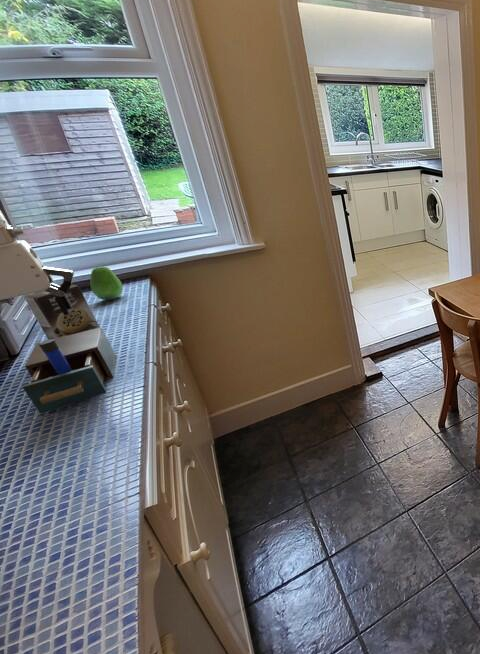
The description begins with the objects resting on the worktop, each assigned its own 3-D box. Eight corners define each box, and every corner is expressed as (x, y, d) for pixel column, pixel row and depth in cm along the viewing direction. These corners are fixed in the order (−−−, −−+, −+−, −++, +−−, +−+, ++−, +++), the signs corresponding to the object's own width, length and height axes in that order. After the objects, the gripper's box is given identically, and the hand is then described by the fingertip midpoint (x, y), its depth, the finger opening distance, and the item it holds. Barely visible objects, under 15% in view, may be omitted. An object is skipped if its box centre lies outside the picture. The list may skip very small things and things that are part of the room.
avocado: (128, 298, 145) (113, 266, 140) (99, 305, 140) (82, 272, 135) (125, 292, 151) (111, 261, 145) (97, 299, 145) (80, 267, 140)
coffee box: (66, 352, 111) (34, 298, 104) (53, 349, 113) (20, 295, 106) (106, 336, 118) (79, 285, 111) (93, 333, 120) (65, 283, 114)
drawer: (105, 401, 88) (90, 375, 85) (36, 424, 82) (17, 396, 79) (109, 369, 100) (96, 345, 97) (49, 387, 94) (33, 362, 91)
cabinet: (114, 377, 98) (97, 346, 95) (45, 398, 92) (24, 366, 88) (116, 355, 108) (101, 327, 104) (54, 373, 101) (36, 343, 98)
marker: (70, 392, 90) (41, 345, 85) (65, 390, 91) (36, 343, 86) (84, 386, 92) (56, 340, 87) (79, 384, 93) (51, 338, 88)
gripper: (52, 227, 84) (93, 302, 92) (-80, 246, 75) (-23, 328, 82) (46, 233, 79) (90, 312, 86) (-97, 255, 69) (-34, 342, 77)
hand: (35, 320), depth 84 cm, fingers open, 9 cm apart
